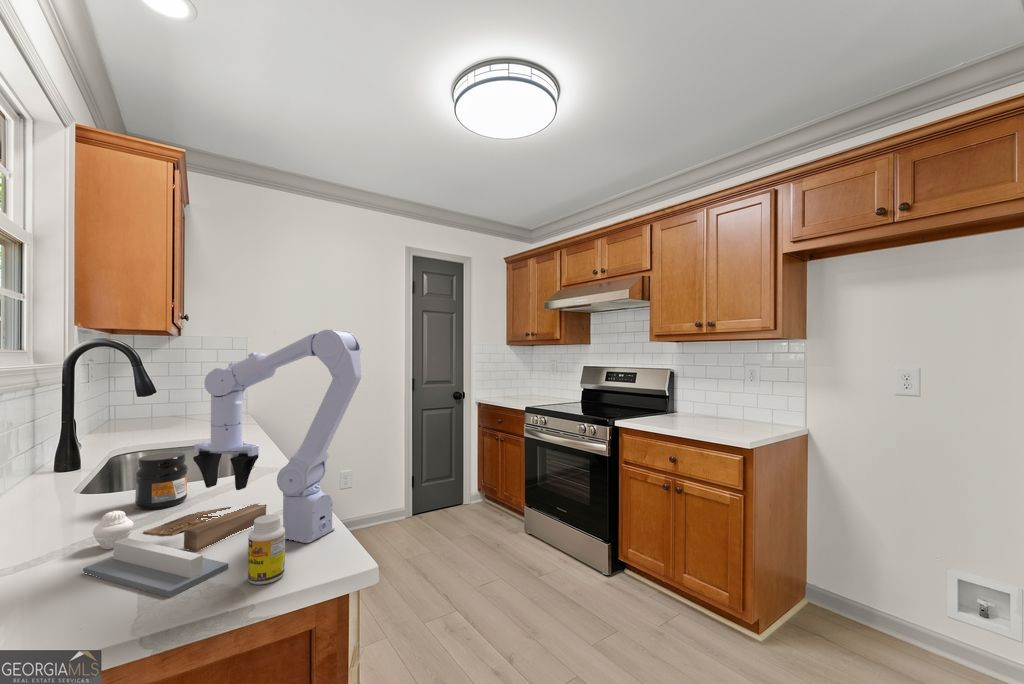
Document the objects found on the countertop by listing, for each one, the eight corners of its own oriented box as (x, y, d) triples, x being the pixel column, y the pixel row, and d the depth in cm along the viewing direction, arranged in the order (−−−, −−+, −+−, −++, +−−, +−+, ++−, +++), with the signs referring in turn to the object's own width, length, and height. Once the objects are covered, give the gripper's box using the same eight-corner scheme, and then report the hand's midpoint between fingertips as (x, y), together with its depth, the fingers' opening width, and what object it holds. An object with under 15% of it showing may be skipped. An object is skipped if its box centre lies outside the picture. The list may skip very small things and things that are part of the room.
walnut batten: (265, 523, 104) (266, 505, 104) (196, 553, 89) (196, 532, 89) (254, 521, 105) (254, 503, 105) (183, 550, 90) (184, 529, 90)
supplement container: (190, 504, 115) (190, 456, 116) (136, 514, 108) (136, 463, 109) (184, 494, 123) (184, 449, 123) (133, 503, 116) (134, 455, 116)
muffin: (134, 546, 91) (135, 510, 91) (92, 555, 87) (93, 518, 87) (131, 536, 96) (132, 503, 96) (92, 545, 91) (92, 510, 91)
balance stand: (228, 569, 82) (228, 546, 82) (169, 597, 73) (170, 571, 73) (145, 549, 89) (146, 529, 89) (83, 573, 80) (83, 550, 80)
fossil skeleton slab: (148, 542, 93) (148, 537, 93) (137, 528, 101) (137, 523, 101) (280, 510, 113) (280, 506, 113) (263, 500, 120) (263, 496, 120)
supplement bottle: (240, 581, 78) (241, 520, 78) (271, 567, 83) (272, 510, 83) (260, 589, 75) (261, 526, 75) (291, 574, 80) (292, 515, 80)
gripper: (269, 422, 101) (268, 484, 101) (214, 420, 104) (213, 480, 104) (244, 427, 94) (243, 494, 94) (185, 425, 97) (185, 489, 97)
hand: (226, 487), depth 99 cm, fingers open, 7 cm apart
